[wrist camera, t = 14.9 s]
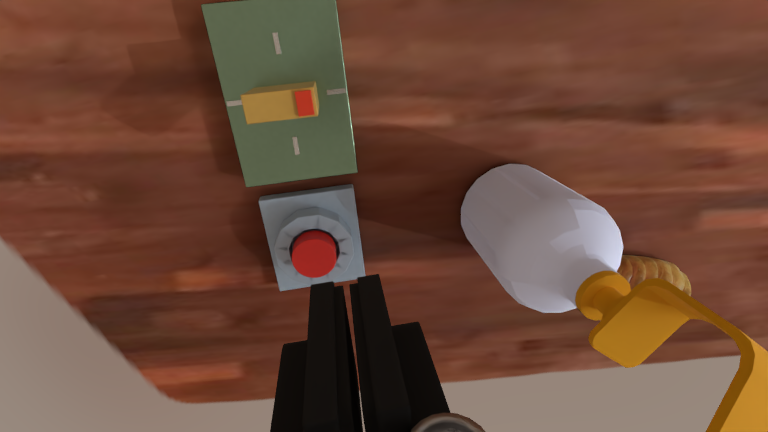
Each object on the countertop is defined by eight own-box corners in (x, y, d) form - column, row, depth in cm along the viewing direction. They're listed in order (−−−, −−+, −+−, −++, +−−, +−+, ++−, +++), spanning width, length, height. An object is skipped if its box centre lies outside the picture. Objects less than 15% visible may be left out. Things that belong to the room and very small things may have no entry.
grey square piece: (260, 195, 34) (254, 208, 31) (352, 183, 35) (355, 195, 32) (280, 284, 38) (277, 302, 35) (364, 271, 38) (367, 288, 36)
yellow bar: (258, 112, 30) (245, 125, 25) (253, 87, 29) (239, 95, 24) (319, 105, 30) (318, 116, 25) (315, 80, 29) (313, 87, 24)
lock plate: (208, 7, 28) (199, 3, 26) (334, -5, 29) (335, -9, 27) (250, 180, 33) (245, 188, 31) (356, 166, 34) (358, 173, 32)
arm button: (289, 233, 33) (287, 242, 31) (332, 227, 33) (333, 236, 32) (297, 270, 34) (295, 281, 33) (338, 264, 35) (339, 274, 33)
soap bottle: (439, 222, 37) (610, 483, 15) (502, 142, 35) (814, 308, 13) (507, 265, 40) (734, 538, 18) (568, 194, 38) (917, 403, 16)
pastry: (580, 291, 43) (603, 312, 39) (616, 238, 41) (643, 255, 37) (643, 313, 45) (670, 335, 42) (680, 264, 43) (711, 283, 40)
